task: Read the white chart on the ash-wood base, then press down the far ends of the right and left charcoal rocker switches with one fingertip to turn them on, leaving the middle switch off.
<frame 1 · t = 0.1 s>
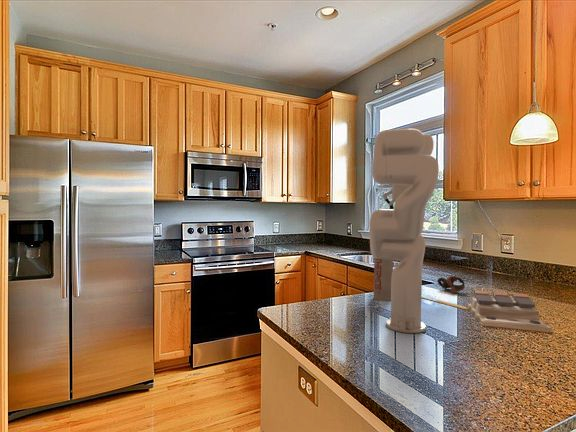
hand: (404, 215, 135), 37 cm above the counter, tool pointing down, fingers open, 9 cm apart
switch unit: (505, 318, 123), on the counter
rocker middle: (502, 298, 125), point 7 cm above the counter, hinge at -12.0°
rocker left: (483, 297, 127), point 7 cm above the counter, hinge at -12.0°
brown looped piece: (450, 291, 163), on the counter
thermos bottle: (382, 298, 149), on the counter
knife: (433, 301, 147), on the counter
rocker right: (523, 300, 123), point 7 cm above the counter, hinge at -12.0°
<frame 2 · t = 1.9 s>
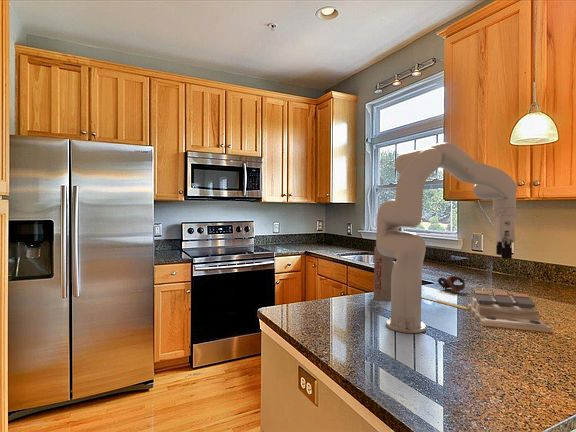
hand: (503, 256, 131), 21 cm above the counter, tool pointing down, fingers open, 9 cm apart
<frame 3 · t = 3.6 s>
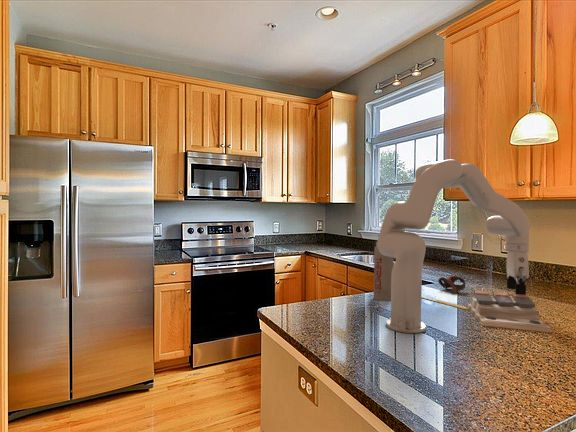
hand: (515, 291, 131), 8 cm above the counter, tool pointing down, fingers open, 9 cm apart
rocker right: (523, 300, 123), point 7 cm above the counter, hinge at -12.0°, touching gripper
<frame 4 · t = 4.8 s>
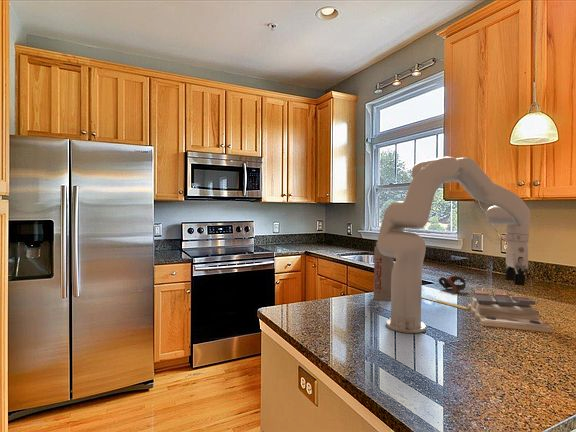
hand: (514, 282, 131), 11 cm above the counter, tool pointing down, fingers open, 9 cm apart
rocker right: (523, 300, 123), point 7 cm above the counter, hinge at 4.2°
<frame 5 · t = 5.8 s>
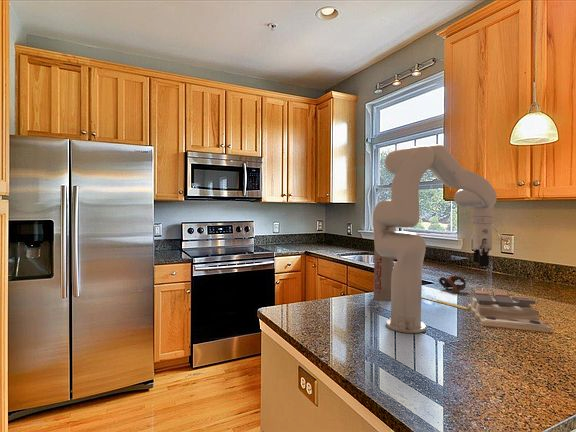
hand: (480, 264, 134), 18 cm above the counter, tool pointing down, fingers open, 9 cm apart
rocker right: (523, 300, 123), point 7 cm above the counter, hinge at 7.1°
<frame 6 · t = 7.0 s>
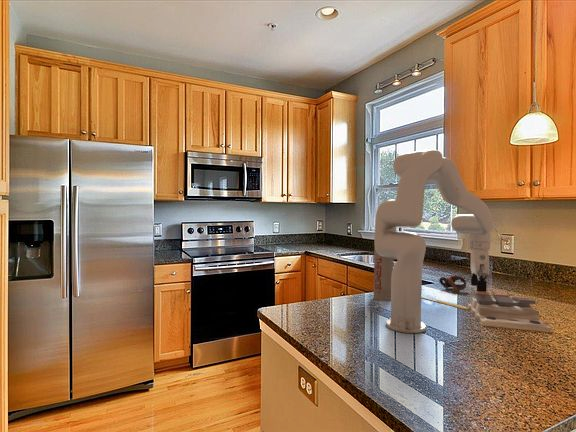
hand: (478, 288, 135), 8 cm above the counter, tool pointing down, fingers open, 9 cm apart
rocker left: (483, 297, 127), point 7 cm above the counter, hinge at -12.0°, touching gripper
rocker right: (523, 300, 123), point 7 cm above the counter, hinge at 7.8°
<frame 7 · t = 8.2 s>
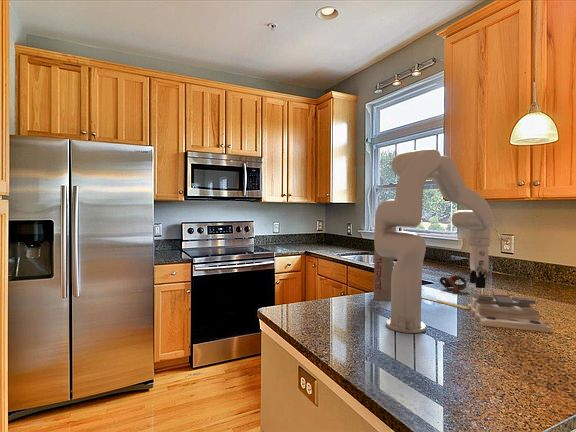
hand: (477, 285, 134), 9 cm above the counter, tool pointing down, fingers open, 9 cm apart
rocker left: (483, 296, 127), point 7 cm above the counter, hinge at 9.2°
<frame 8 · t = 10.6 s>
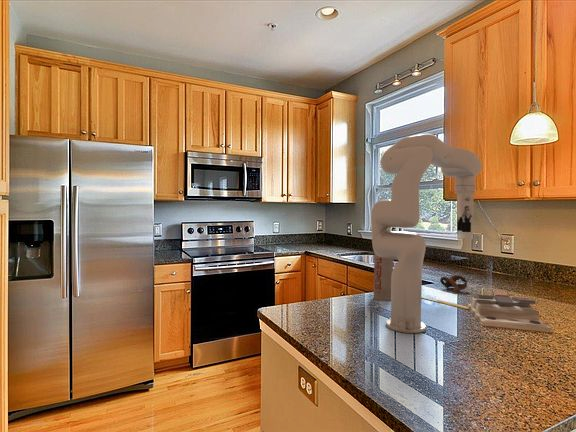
hand: (463, 231, 141), 30 cm above the counter, tool pointing down, fingers open, 9 cm apart
rocker left: (483, 296, 127), point 7 cm above the counter, hinge at 14.7°
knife: (433, 301, 147), on the counter, touching switch unit
at the end: rocker right at +8° (first picture: -12°); rocker left at +15° (first picture: -12°); rocker middle at -12° (first picture: -12°) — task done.
